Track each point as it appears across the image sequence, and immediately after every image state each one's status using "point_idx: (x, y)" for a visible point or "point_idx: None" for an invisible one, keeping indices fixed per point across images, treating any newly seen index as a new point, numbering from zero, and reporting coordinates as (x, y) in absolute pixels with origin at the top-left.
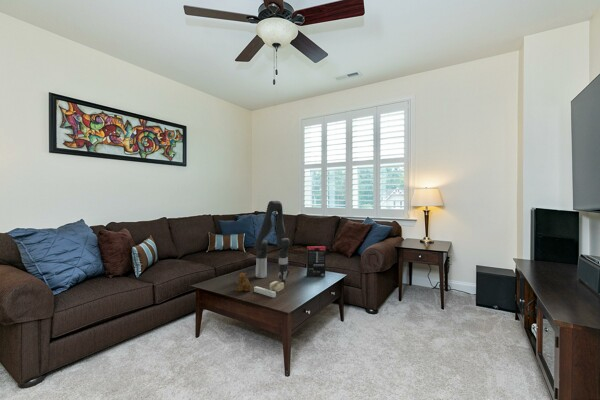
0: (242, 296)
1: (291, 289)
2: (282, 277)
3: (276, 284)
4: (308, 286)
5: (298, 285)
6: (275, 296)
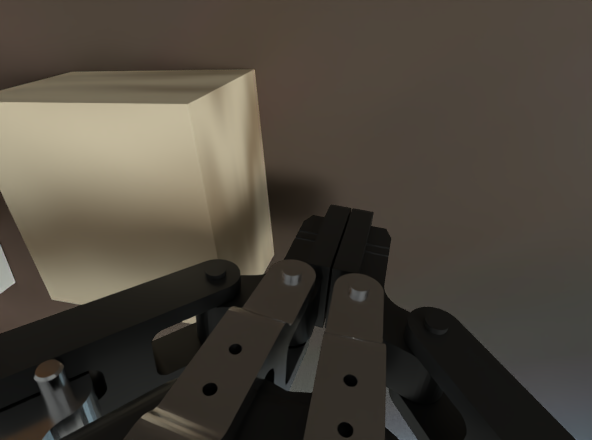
0: None
1: (307, 356)
2: (331, 303)
3: (53, 254)
4: None
5: (542, 399)
6: (8, 282)
